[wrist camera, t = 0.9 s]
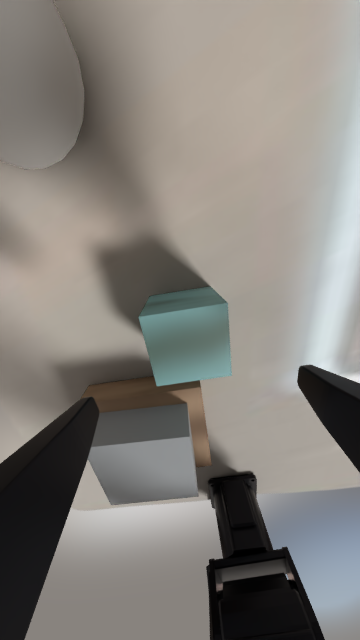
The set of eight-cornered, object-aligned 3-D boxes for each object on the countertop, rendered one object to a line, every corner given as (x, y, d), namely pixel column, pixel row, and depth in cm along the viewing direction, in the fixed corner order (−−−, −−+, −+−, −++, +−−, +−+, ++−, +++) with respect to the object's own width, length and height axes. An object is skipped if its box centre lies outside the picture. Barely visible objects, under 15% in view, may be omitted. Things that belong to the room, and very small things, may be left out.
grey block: (194, 459, 18) (198, 496, 16) (120, 466, 18) (111, 505, 16) (187, 403, 15) (189, 436, 13) (99, 413, 16) (82, 448, 13)
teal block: (214, 339, 16) (231, 375, 11) (161, 347, 16) (156, 386, 11) (209, 286, 14) (227, 302, 9) (150, 295, 14) (138, 317, 10)
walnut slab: (207, 437, 22) (211, 465, 19) (121, 449, 22) (113, 478, 19) (196, 365, 18) (200, 387, 15) (92, 381, 18) (76, 404, 15)
